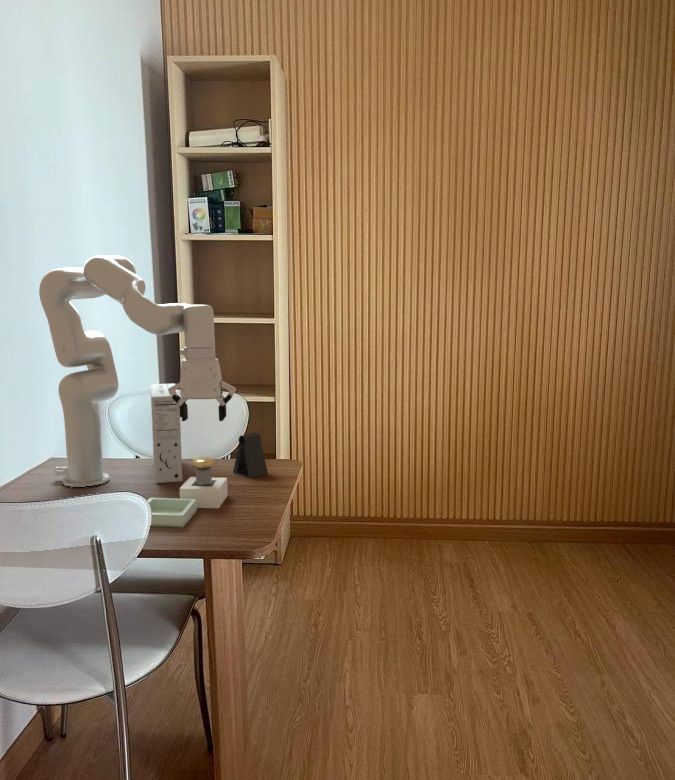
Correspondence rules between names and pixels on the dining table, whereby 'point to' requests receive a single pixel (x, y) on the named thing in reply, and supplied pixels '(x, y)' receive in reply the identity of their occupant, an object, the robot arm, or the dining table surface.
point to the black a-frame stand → (250, 457)
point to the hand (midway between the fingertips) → (203, 420)
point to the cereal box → (166, 434)
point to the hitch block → (205, 492)
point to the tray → (172, 511)
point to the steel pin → (203, 470)
